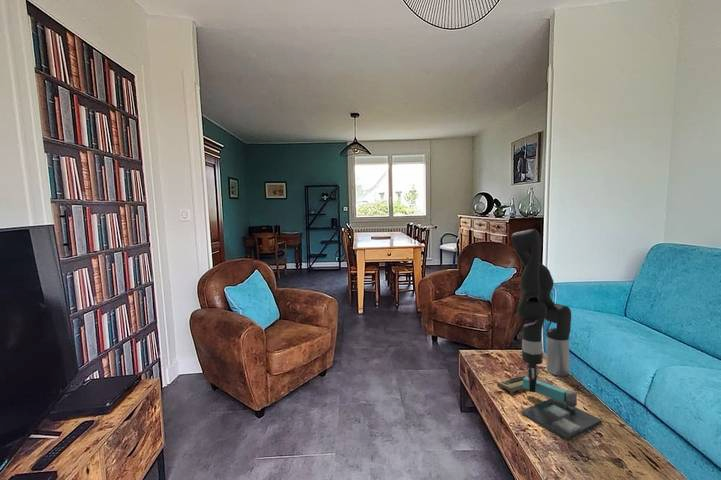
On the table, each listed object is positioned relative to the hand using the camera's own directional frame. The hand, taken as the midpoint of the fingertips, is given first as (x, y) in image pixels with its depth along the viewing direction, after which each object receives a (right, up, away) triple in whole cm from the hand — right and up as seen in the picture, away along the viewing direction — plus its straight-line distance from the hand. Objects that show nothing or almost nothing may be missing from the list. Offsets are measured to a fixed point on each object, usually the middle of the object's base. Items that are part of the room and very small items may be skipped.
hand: (532, 391), depth 138 cm
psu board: (+5, -5, -12) cm, 14 cm away
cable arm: (+6, -1, -1) cm, 6 cm away
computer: (0, -4, +13) cm, 14 cm away
